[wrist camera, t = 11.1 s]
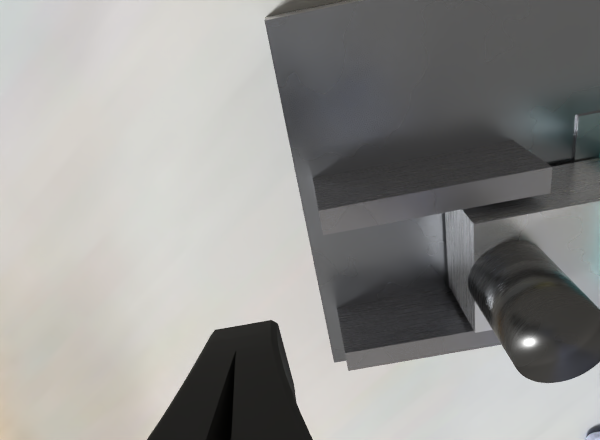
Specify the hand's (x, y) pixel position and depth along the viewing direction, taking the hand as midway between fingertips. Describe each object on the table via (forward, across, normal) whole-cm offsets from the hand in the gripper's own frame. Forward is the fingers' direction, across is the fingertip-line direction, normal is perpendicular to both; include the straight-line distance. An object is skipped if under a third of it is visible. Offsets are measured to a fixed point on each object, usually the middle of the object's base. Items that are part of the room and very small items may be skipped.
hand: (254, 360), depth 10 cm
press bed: (+8, -11, 0) cm, 13 cm away
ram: (+6, -9, +2) cm, 11 cm away
